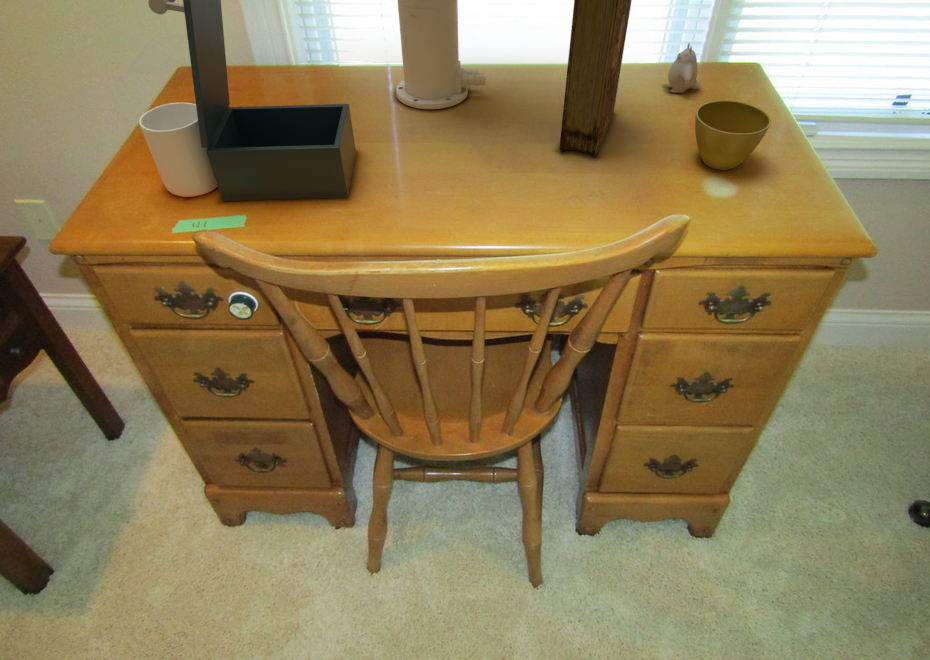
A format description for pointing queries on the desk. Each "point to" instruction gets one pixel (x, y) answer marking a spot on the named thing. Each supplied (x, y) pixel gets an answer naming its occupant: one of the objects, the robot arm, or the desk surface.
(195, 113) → the mug
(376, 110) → the desk surface
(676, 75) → the figurine
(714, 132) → the flower pot
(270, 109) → the chest
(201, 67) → the lid
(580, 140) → the book
